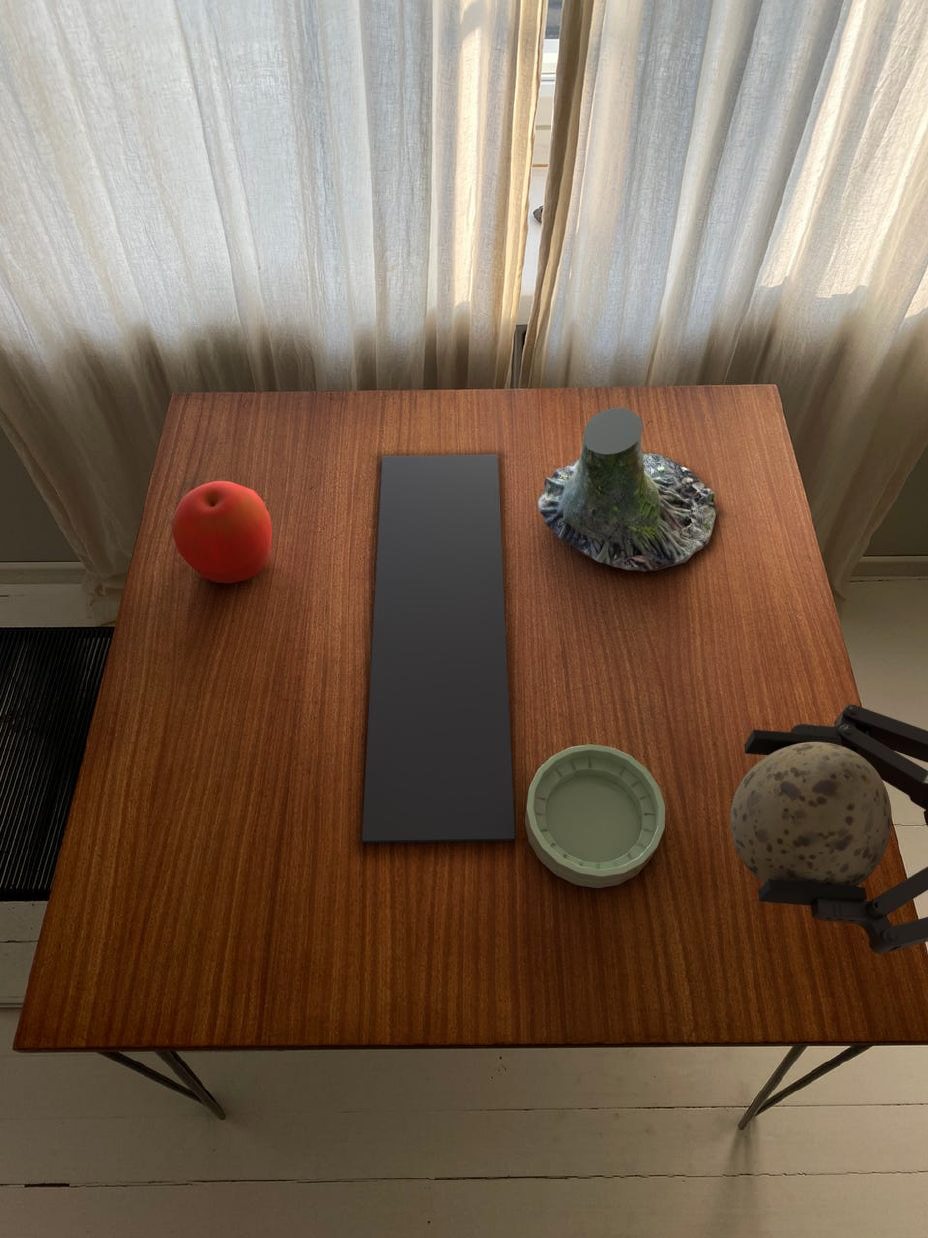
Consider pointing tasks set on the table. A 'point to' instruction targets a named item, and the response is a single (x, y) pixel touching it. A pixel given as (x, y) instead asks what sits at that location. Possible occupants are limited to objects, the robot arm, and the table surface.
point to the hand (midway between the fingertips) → (755, 812)
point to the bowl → (594, 815)
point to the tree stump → (627, 500)
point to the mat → (439, 657)
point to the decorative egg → (812, 816)
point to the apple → (223, 531)
